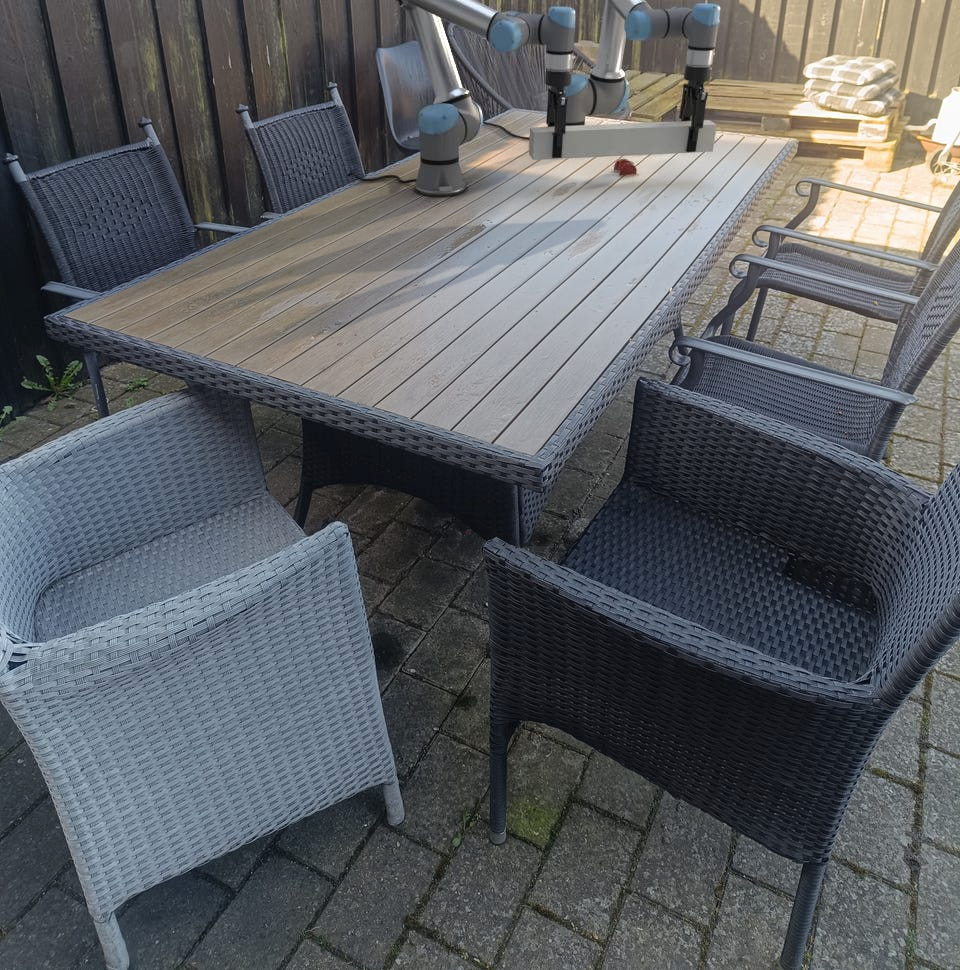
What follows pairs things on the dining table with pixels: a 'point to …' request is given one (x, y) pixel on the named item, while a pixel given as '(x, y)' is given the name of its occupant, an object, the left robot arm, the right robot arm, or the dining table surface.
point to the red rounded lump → (625, 167)
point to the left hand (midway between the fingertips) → (554, 154)
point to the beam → (621, 139)
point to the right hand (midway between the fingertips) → (686, 148)
